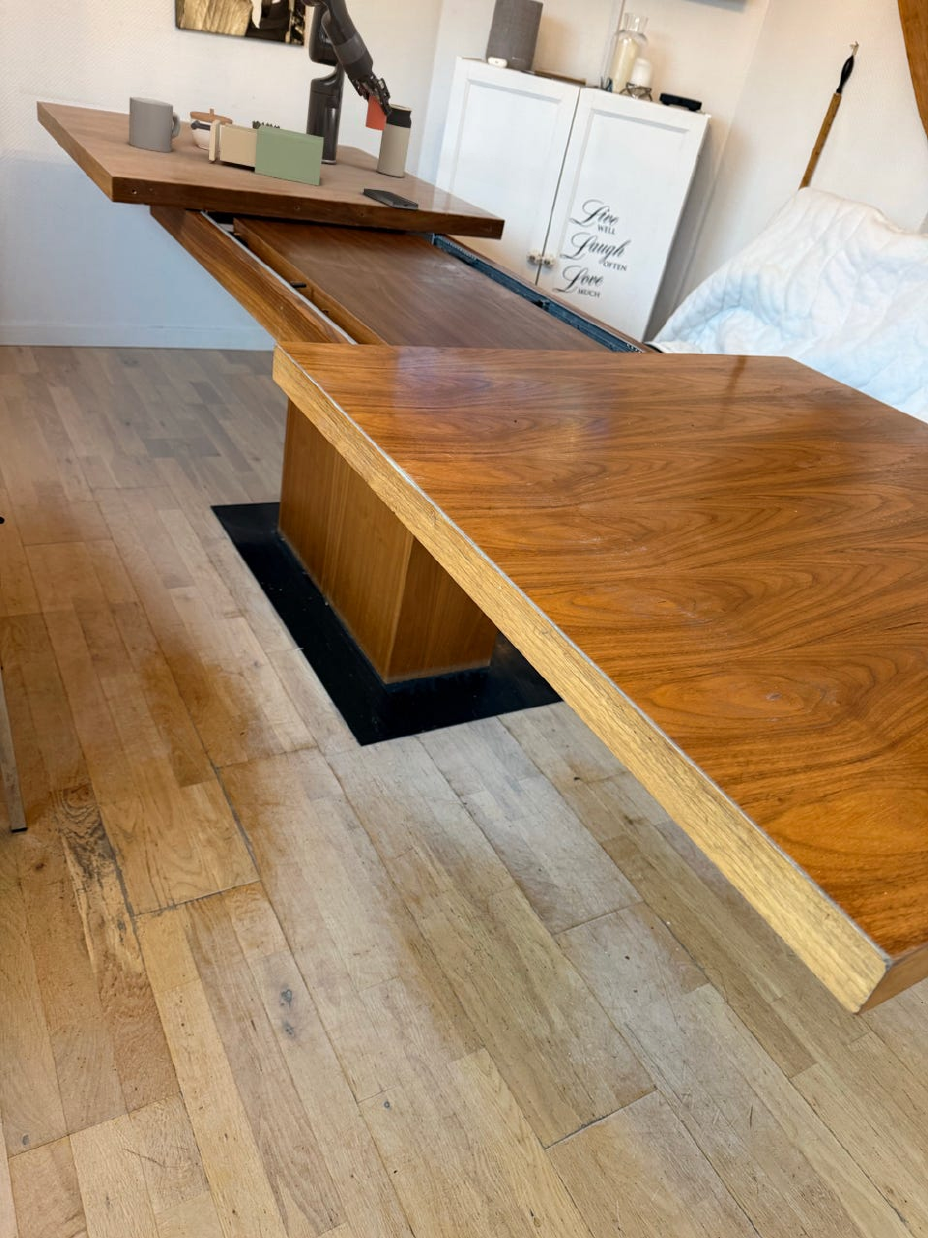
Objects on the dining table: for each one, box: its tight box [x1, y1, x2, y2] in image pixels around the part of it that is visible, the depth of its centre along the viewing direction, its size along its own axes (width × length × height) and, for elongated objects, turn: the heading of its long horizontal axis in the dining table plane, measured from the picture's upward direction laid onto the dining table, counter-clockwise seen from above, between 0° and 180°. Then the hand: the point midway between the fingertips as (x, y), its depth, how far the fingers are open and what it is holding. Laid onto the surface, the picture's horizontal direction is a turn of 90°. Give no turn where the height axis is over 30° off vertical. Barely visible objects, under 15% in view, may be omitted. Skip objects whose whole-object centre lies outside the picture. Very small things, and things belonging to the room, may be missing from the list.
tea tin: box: [365, 89, 391, 132], centre depth 243 cm, size 5×5×9 cm
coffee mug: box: [128, 96, 181, 153], centre depth 224 cm, size 13×10×10 cm
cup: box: [251, 120, 281, 129], centre depth 250 cm, size 8×7×8 cm
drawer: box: [190, 120, 258, 168], centre depth 225 cm, size 19×11×8 cm, turn 97°
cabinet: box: [254, 124, 324, 187], centre depth 228 cm, size 16×13×10 cm
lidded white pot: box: [189, 108, 234, 152], centre depth 241 cm, size 11×11×9 cm
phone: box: [362, 188, 419, 211], centre depth 227 cm, size 8×1×15 cm
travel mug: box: [376, 103, 413, 178], centre depth 267 cm, size 8×8×18 cm
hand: (382, 111), depth 245 cm, fingers closed on tea tin, 5 cm apart
